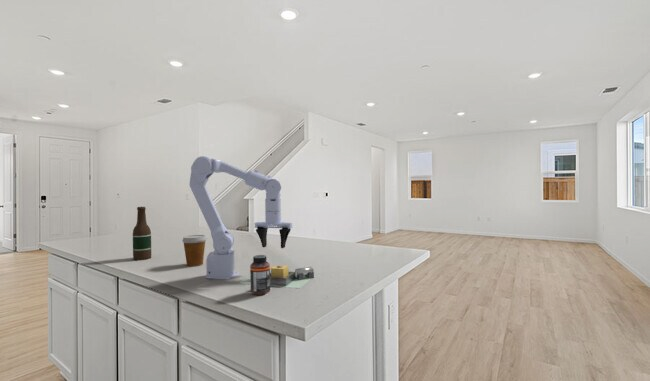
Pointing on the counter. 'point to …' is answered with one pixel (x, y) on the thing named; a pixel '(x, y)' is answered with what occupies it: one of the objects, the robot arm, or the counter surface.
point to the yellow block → (279, 271)
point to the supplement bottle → (260, 275)
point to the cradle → (283, 279)
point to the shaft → (304, 273)
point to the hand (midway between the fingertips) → (273, 247)
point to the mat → (293, 284)
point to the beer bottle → (141, 237)
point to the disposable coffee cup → (194, 249)
